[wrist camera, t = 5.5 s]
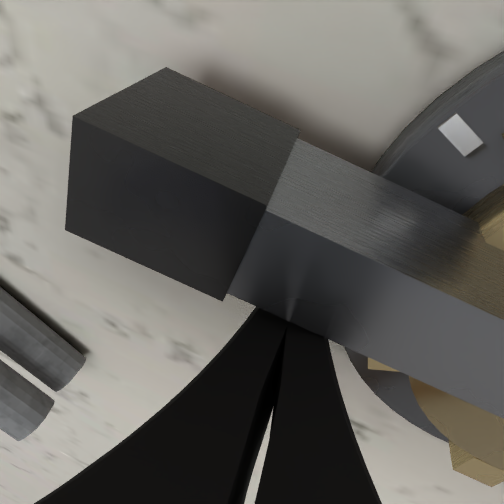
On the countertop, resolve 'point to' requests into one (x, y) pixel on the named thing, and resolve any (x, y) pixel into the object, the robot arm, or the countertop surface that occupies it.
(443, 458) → the countertop surface
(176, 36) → the countertop surface
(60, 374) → the metal rod assembly
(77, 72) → the countertop surface
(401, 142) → the disc
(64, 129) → the countertop surface
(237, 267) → the brass turntable dial
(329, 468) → the robot arm
